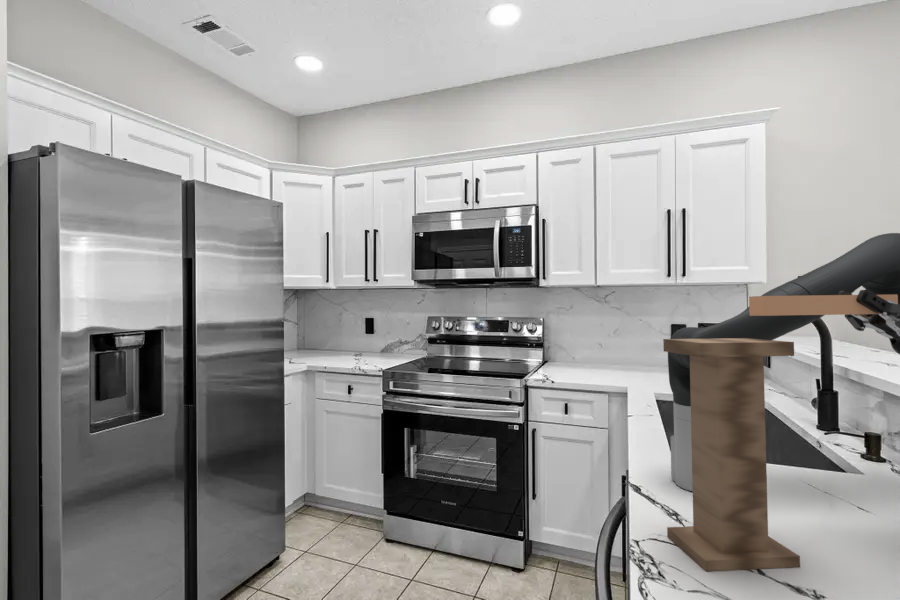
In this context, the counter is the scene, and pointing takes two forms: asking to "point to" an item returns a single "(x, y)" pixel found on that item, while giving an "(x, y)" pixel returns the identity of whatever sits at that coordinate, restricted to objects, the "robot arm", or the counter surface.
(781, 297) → the bar
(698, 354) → the wooden pedestal column
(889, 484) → the counter surface
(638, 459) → the counter surface
